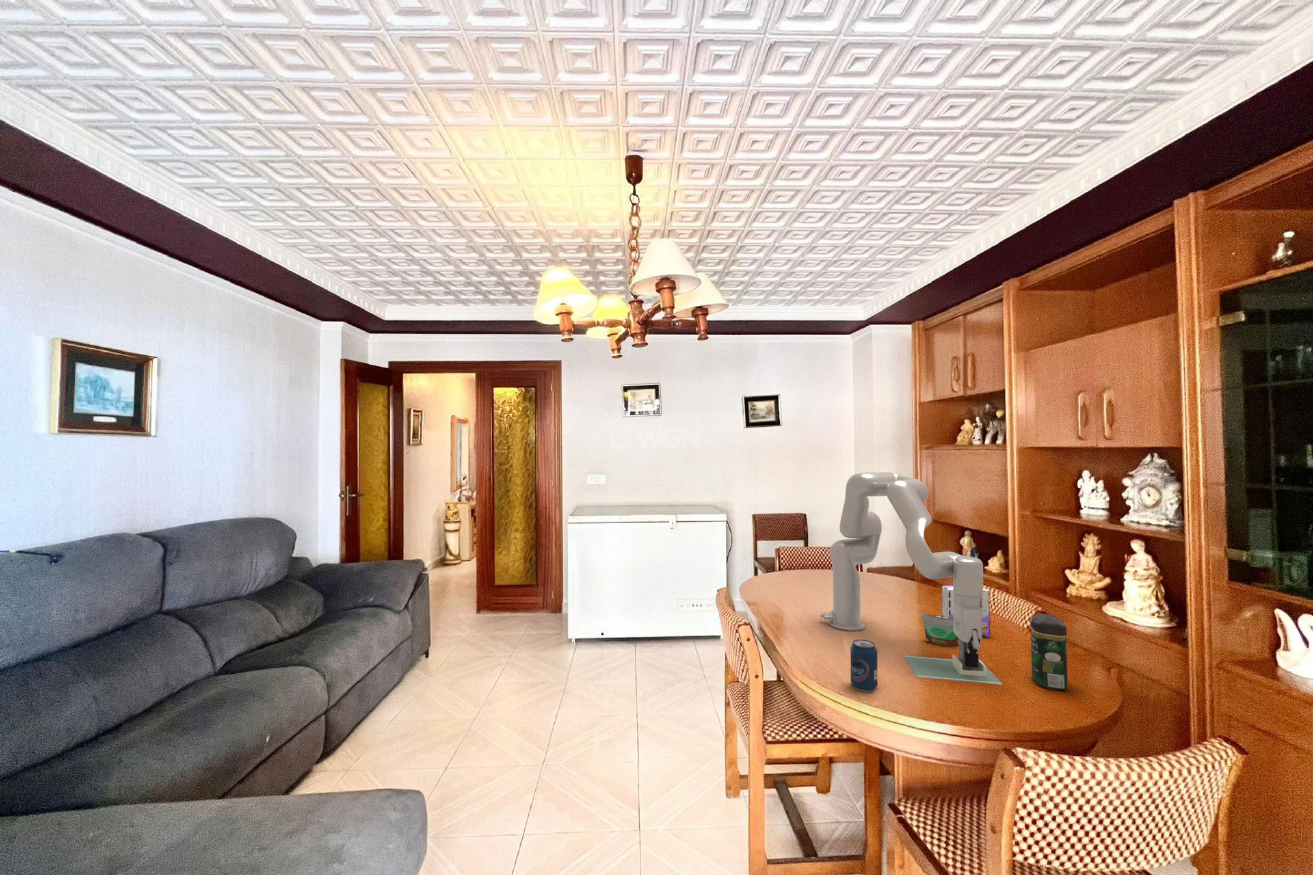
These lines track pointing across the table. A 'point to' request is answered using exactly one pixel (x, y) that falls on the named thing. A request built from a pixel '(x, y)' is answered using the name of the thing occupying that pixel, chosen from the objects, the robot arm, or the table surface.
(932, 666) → the board
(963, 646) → the plug
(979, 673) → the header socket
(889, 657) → the table surface
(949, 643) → the food container
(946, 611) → the candy box
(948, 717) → the table surface
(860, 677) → the soda can
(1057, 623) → the coffee jar
